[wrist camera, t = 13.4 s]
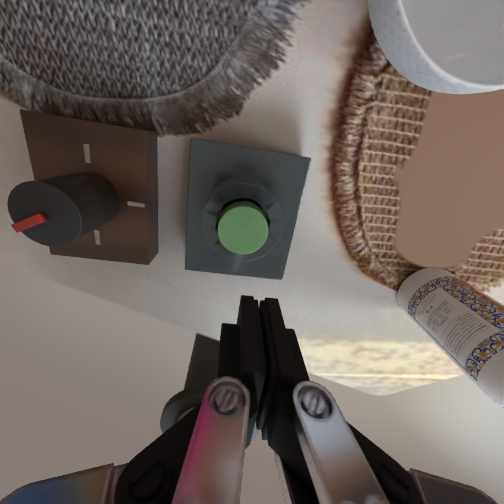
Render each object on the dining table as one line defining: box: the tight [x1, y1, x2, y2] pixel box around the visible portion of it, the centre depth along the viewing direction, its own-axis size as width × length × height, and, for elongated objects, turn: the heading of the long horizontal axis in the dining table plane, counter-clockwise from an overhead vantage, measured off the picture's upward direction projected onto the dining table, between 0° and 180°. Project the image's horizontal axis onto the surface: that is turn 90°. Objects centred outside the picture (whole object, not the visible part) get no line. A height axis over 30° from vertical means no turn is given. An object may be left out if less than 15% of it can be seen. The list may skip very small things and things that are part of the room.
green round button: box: [218, 201, 268, 254], centre depth 19 cm, size 4×4×2 cm
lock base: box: [20, 109, 158, 265], centre depth 22 cm, size 12×9×3 cm
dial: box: [8, 172, 119, 247], centre depth 18 cm, size 4×4×6 cm
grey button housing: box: [185, 138, 311, 280], centre depth 22 cm, size 12×10×5 cm
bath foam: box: [397, 267, 504, 408], centre depth 21 cm, size 7×7×20 cm
